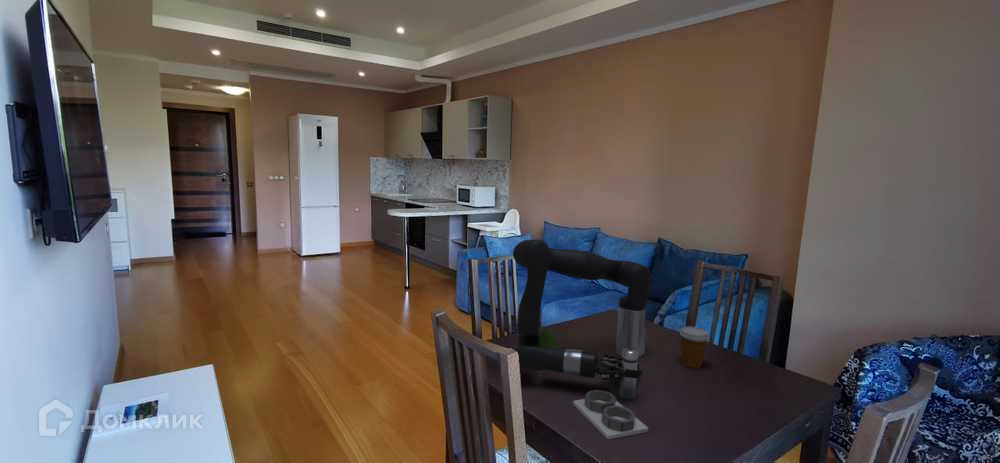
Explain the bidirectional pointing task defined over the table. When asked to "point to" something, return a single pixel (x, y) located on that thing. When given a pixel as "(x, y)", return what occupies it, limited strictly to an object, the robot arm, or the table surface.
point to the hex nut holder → (609, 415)
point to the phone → (617, 382)
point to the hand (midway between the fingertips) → (638, 371)
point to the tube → (630, 363)
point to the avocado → (547, 339)
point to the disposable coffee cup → (693, 345)
